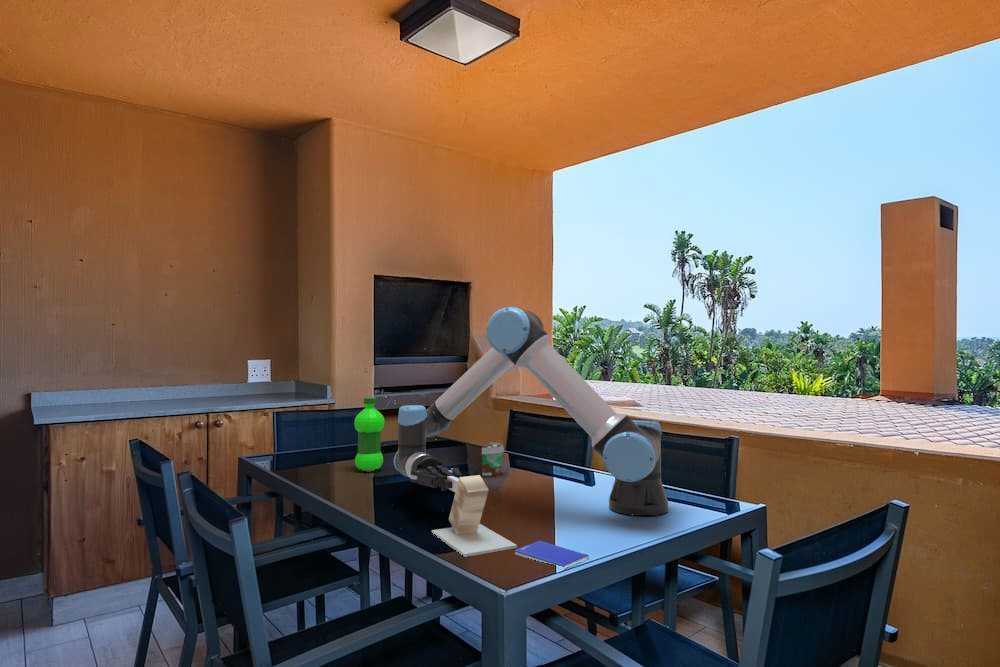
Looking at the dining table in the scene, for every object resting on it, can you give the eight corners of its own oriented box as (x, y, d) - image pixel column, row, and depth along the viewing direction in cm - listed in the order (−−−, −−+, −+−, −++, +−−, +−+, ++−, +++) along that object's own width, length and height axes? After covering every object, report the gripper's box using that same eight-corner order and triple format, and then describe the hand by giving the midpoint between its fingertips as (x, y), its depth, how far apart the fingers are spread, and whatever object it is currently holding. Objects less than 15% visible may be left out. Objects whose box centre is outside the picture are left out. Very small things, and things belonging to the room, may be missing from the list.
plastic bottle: (347, 472, 202) (348, 398, 203) (367, 467, 212) (367, 396, 213) (371, 475, 198) (372, 399, 199) (390, 469, 207) (390, 397, 208)
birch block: (448, 519, 135) (459, 477, 130) (468, 516, 137) (479, 475, 132) (456, 535, 131) (467, 492, 126) (476, 532, 133) (488, 489, 128)
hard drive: (514, 549, 120) (563, 564, 112) (540, 540, 126) (589, 553, 118) (514, 557, 120) (563, 573, 112) (540, 547, 126) (589, 561, 118)
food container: (500, 479, 191) (500, 448, 192) (481, 478, 193) (481, 447, 193) (507, 472, 203) (507, 442, 204) (489, 471, 205) (489, 442, 205)
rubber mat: (431, 533, 134) (431, 530, 134) (479, 525, 140) (479, 523, 140) (464, 557, 118) (464, 554, 118) (516, 548, 124) (516, 545, 124)
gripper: (447, 481, 157) (487, 501, 136) (400, 486, 151) (434, 507, 130) (447, 452, 157) (487, 468, 137) (400, 456, 151) (434, 473, 131)
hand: (461, 487), depth 133 cm, fingers closed
